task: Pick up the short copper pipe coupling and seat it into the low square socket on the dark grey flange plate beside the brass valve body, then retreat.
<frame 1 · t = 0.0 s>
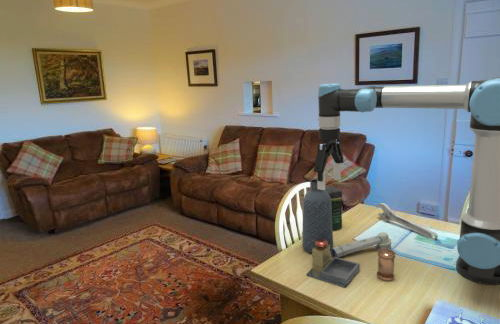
hand: (329, 184, 135), 28 cm above the table, fingers open, 13 cm apart
coffee jar: (331, 226, 166), on the table
fitting base: (333, 272, 128), on the table
coupling: (385, 276, 124), on the table
wrench: (404, 229, 160), on the table
vase: (317, 248, 146), on the table
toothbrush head: (361, 252, 142), on the table
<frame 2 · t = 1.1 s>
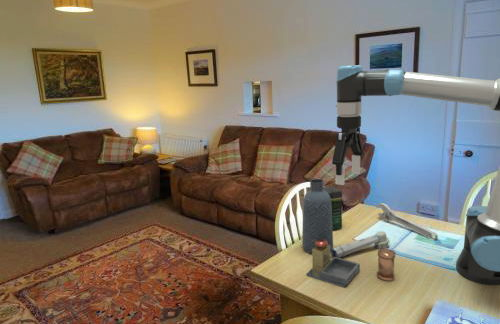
hand: (348, 179, 121), 34 cm above the table, fingers open, 13 cm apart
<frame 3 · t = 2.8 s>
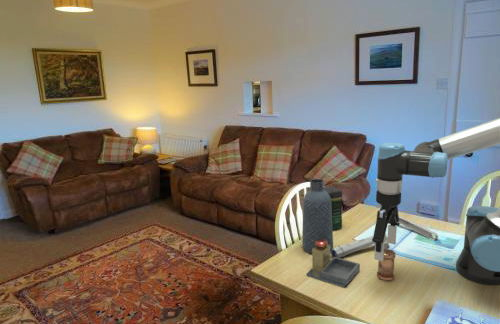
hand: (385, 251, 122), 9 cm above the table, fingers open, 13 cm apart
nothing on the table moved.
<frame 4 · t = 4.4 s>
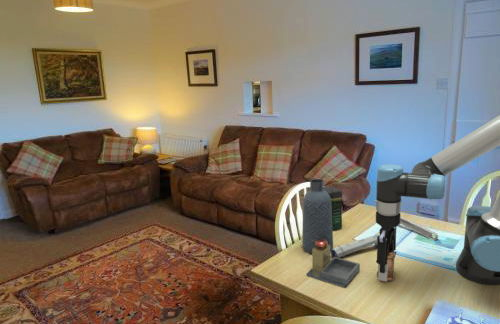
hand: (385, 275, 124), 0 cm above the table, fingers closed on coupling, 6 cm apart
coupling: (385, 276, 124), on the table, touching gripper
everything else where it was.
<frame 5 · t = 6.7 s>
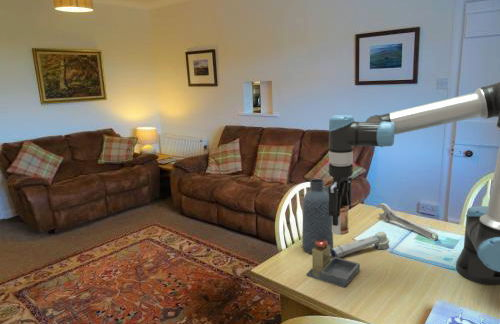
hand: (340, 230, 122), 17 cm above the table, fingers closed on coupling, 6 cm apart
coupling: (340, 230, 122), point 16 cm above the table, touching gripper
everything else where it was.
when the fingers open (2 cm above the table, at t = 9.1 s): coupling drops 1 cm, resting on fitting base.
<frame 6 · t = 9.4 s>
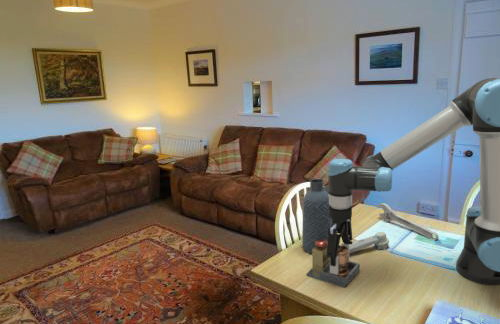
hand: (339, 267, 126), 3 cm above the table, fingers open, 9 cm apart
coupling: (339, 272, 126), point 1 cm above the table, touching fitting base
everything else where it was.
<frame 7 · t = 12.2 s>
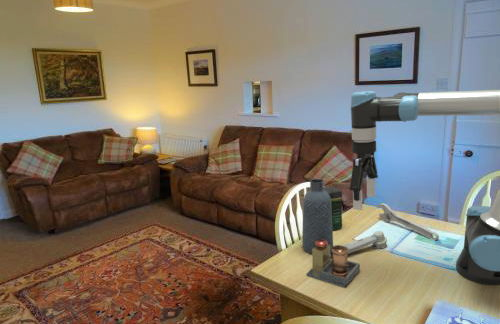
hand: (364, 202, 122), 26 cm above the table, fingers open, 13 cm apart
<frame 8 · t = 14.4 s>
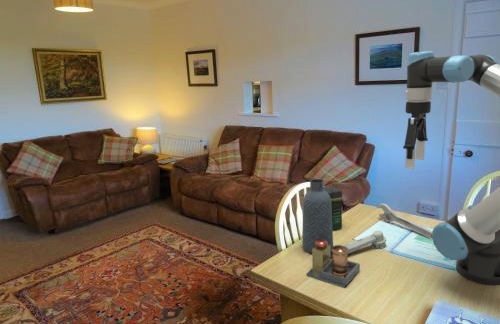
hand: (414, 163, 124), 37 cm above the table, fingers open, 13 cm apart
at the end: coupling 0.0 cm from the target spot on the fitting base, point 0.8 cm above the fitting base's base; coupling tilted 0°; the gripper is holding nothing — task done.
